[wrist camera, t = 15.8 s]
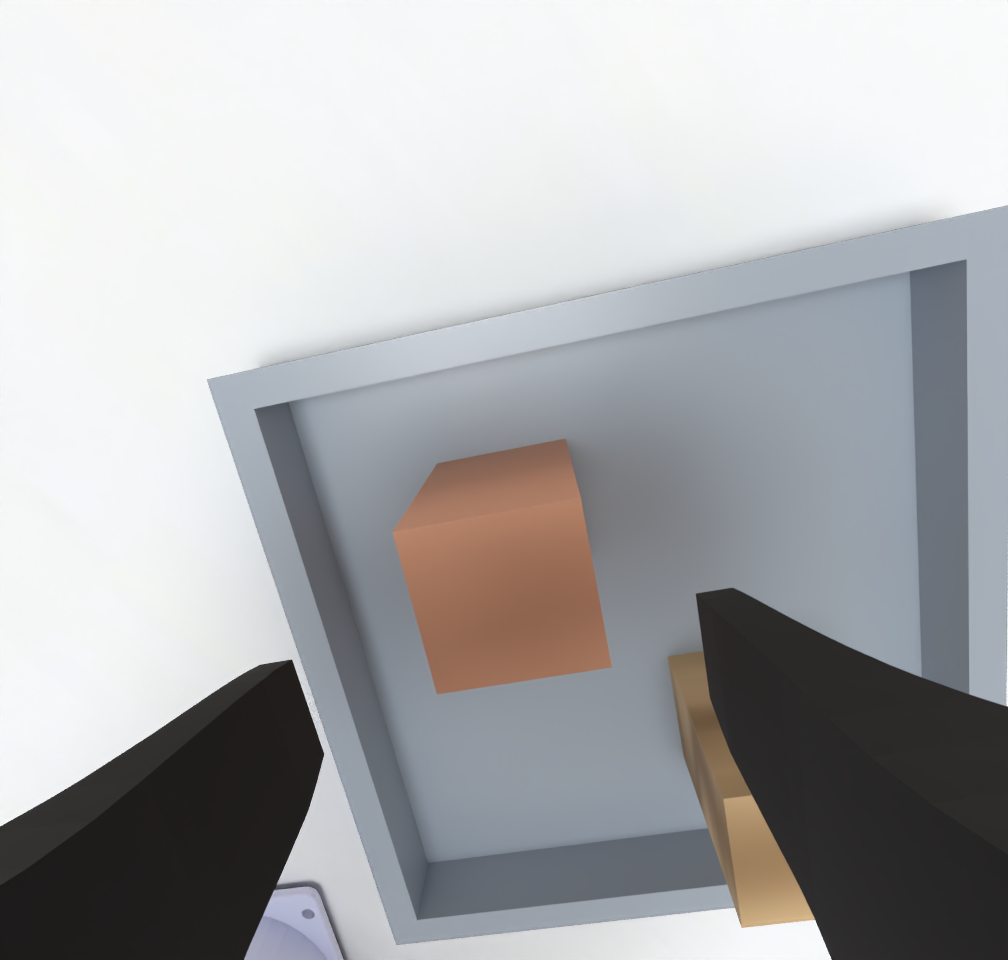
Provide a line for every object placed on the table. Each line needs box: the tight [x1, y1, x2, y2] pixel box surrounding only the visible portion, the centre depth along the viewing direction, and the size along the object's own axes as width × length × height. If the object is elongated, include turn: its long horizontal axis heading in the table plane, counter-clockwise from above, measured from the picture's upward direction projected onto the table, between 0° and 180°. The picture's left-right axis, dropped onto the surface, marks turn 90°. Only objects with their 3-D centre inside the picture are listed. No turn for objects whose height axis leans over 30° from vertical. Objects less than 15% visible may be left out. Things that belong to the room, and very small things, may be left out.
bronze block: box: [668, 651, 815, 928], centre depth 17 cm, size 4×4×6 cm
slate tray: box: [207, 205, 1008, 945], centre depth 19 cm, size 20×20×3 cm
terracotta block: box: [393, 439, 612, 694], centre depth 16 cm, size 4×4×6 cm
